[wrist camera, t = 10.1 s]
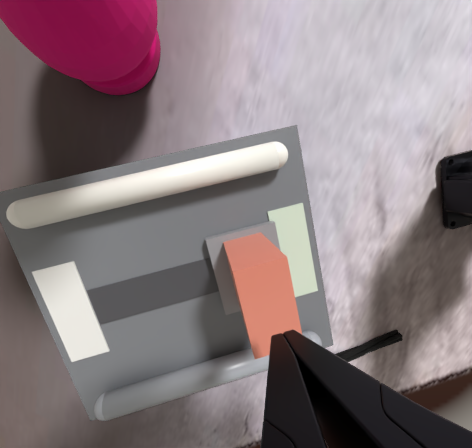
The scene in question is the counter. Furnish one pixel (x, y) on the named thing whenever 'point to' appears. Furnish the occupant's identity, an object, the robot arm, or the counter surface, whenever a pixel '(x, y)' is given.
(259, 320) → the lever
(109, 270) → the box
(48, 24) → the pepper mill
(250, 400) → the counter surface
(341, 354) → the black thin rod
